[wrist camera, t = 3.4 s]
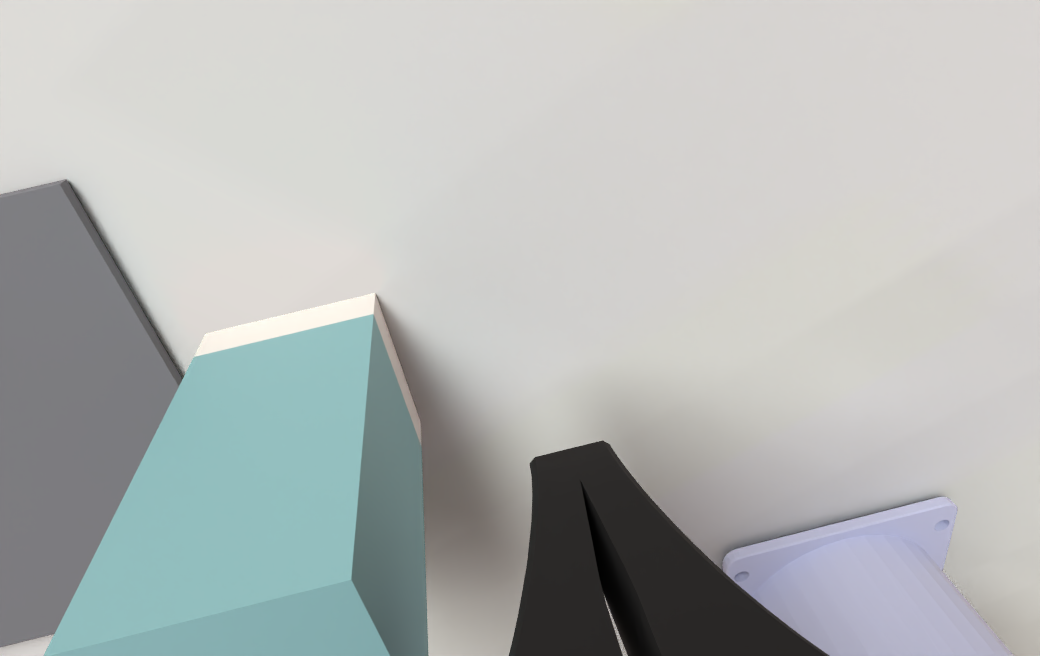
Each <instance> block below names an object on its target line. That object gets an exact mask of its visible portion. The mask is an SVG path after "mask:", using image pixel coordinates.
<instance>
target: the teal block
mask: <svg viewBox="0 0 1040 656" xmlns="http://www.w3.org/2000/svg"><path fill="white" fill-rule="evenodd" d="M44 656H428V631H427V600H426V569H425V538H424V507H423V476H422V445H421V422H420V419H419V416H418V413H417V410H416V407H415V404H414V402H413V399H412V396H411V393H410V390H409V387H408V385H407V382H406V379H405V376H404V373H403V370H402V367H401V365H400V362H399V359H398V356H397V353H396V350H395V348H394V345H393V342H392V339H391V336H390V333H389V330H388V328H387V325H386V322H385V319H384V316H383V313H382V311H381V308H380V305H379V302H378V299H377V296H376V294H375V293H373V294H368V295H364V296H360V297H356V298H352V299H348V300H343V301H339V302H335V303H331V304H327V305H322V306H318V307H314V308H310V309H306V310H301V311H297V312H293V313H289V314H285V315H281V316H276V317H272V318H268V319H264V320H260V321H255V322H251V323H247V324H243V325H239V326H234V327H230V328H226V329H222V330H218V331H214V332H209V333H206V334H205V336H204V338H203V340H202V342H201V344H200V346H199V348H198V350H197V352H196V354H195V356H194V358H193V360H192V362H191V364H190V366H189V368H188V370H187V372H186V374H185V376H184V378H183V380H182V382H181V384H180V386H179V388H178V390H177V392H176V394H175V396H174V398H173V399H172V401H171V403H170V405H169V407H168V409H167V411H166V413H165V415H164V417H163V419H162V421H161V423H160V425H159V427H158V429H157V431H156V433H155V435H154V437H153V439H152V441H151V443H150V445H149V447H148V449H147V451H146V453H145V455H144V457H143V459H142V461H141V463H140V465H139V467H138V469H137V471H136V473H135V475H134V477H133V479H132V481H131V483H130V485H129V487H128V489H127V491H126V493H125V495H124V497H123V499H122V501H121V503H120V505H119V507H118V509H117V511H116V513H115V515H114V517H113V519H112V521H111V523H110V525H109V527H108V529H107V531H106V533H105V535H104V537H103V539H102V541H101V543H100V545H99V547H98V549H97V551H96V553H95V555H94V557H93V559H92V561H91V563H90V565H89V567H88V569H87V571H86V573H85V575H84V577H83V579H82V581H81V583H80V585H79V587H78V589H77V591H76V593H75V594H74V596H73V598H72V600H71V602H70V604H69V606H68V608H67V610H66V612H65V614H64V616H63V618H62V620H61V622H60V624H59V626H58V628H57V630H56V632H55V634H54V636H53V638H52V640H51V642H50V644H49V646H48V648H47V650H46V652H45V654H44Z"/></svg>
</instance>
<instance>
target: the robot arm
mask: <svg viewBox="0 0 1040 656" xmlns="http://www.w3.org/2000/svg"><path fill="white" fill-rule="evenodd" d="M530 468H531V475H532V494H533V496H532V522H531V533H530V542H529V552H528V561H527V568H526V574H525V580H524V585H523V591H522V597H521V603H520V608H519V614H518V618H517V623H516V628H515V632H514V637H513V641H512V645H511V649H510V653H509V656H623V655H622V652H621V649H620V646H619V643H618V640H617V637H616V634H615V630H614V627H613V624H612V621H611V618H610V615H609V612H608V609H607V606H606V602H605V598H606V601H607V603H608V606H609V609H610V611H611V614H612V616H613V619H614V621H615V624H616V626H617V629H618V632H619V634H620V637H621V639H622V642H623V644H624V647H625V649H626V652H627V654H628V656H1014V655H1013V654H1012V653H1011V652H1010V650H1009V649H1008V648H1007V647H1006V646H1005V645H1004V643H1003V642H1002V641H1001V640H1000V639H999V638H998V636H997V635H996V634H995V633H994V632H993V630H992V629H991V628H990V627H989V626H988V625H987V623H986V622H985V621H984V620H983V619H982V617H981V616H980V615H979V614H978V613H977V612H976V610H975V609H974V608H973V607H972V606H971V604H970V603H969V602H968V601H967V600H966V599H965V597H964V596H963V595H962V594H961V593H960V591H959V590H958V589H957V588H956V587H955V586H954V584H953V583H952V582H951V581H950V580H949V578H948V577H947V576H946V575H945V574H944V573H943V567H944V563H945V559H946V555H947V551H948V547H949V543H950V539H951V535H952V531H953V526H954V522H955V518H956V514H957V506H956V505H955V504H954V503H953V502H952V501H951V500H950V499H949V498H948V497H937V498H933V499H929V500H925V501H921V502H917V503H913V504H909V505H906V506H902V507H898V508H894V509H890V510H886V511H882V512H878V513H874V514H870V515H866V516H862V517H858V518H855V519H851V520H847V521H843V522H839V523H835V524H831V525H827V526H823V527H819V528H815V529H811V530H808V531H804V532H800V533H796V534H792V535H788V536H784V537H780V538H776V539H772V540H768V541H764V542H761V543H757V544H753V545H749V546H745V547H741V548H737V549H734V550H732V551H730V552H729V553H727V554H726V556H725V557H724V559H723V571H722V570H721V569H720V568H719V567H718V566H717V565H715V564H714V563H713V562H712V561H711V560H710V559H709V558H708V557H707V556H706V555H705V554H704V553H703V552H702V551H701V550H700V549H699V548H698V547H696V546H695V545H694V544H693V543H692V542H691V541H690V540H689V539H688V538H687V537H686V536H685V535H684V534H683V533H682V532H681V530H680V529H679V528H678V527H677V526H676V525H675V524H674V523H673V522H672V521H671V520H670V519H669V518H668V517H667V516H666V514H665V513H664V512H663V511H662V510H661V509H660V508H659V507H658V506H657V505H656V504H655V503H654V501H653V500H652V499H651V498H650V497H649V496H648V495H647V493H646V492H645V491H644V490H643V489H642V487H641V486H640V485H639V484H638V483H637V481H636V480H635V479H634V478H633V477H632V475H631V474H630V473H629V471H628V470H627V469H626V468H625V466H624V465H623V464H622V462H621V461H620V459H619V458H618V457H617V455H616V454H615V452H614V451H613V449H612V448H611V446H610V444H608V443H606V442H604V441H599V442H595V443H591V444H587V445H583V446H579V447H575V448H571V449H567V450H562V451H558V452H554V453H550V454H546V455H542V456H538V457H535V458H534V459H533V460H532V461H531V463H530ZM603 593H604V594H603ZM604 596H605V598H604Z"/></svg>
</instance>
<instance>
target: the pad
mask: <svg viewBox="0 0 1040 656" xmlns="http://www.w3.org/2000/svg"><path fill="white" fill-rule="evenodd" d="M182 380H183V379H182V378H181V376H180V374H179V373H178V371H177V369H176V367H175V366H174V364H173V362H172V360H171V359H170V357H169V355H168V354H167V352H166V350H165V348H164V347H163V345H162V343H161V342H160V340H159V338H158V336H157V335H156V333H155V331H154V329H153V328H152V326H151V324H150V323H149V321H148V319H147V317H146V316H145V314H144V312H143V310H142V309H141V307H140V305H139V304H138V302H137V300H136V298H135V297H134V295H133V293H132V292H131V290H130V288H129V286H128V285H127V283H126V281H125V279H124V278H123V276H122V274H121V273H120V271H119V269H118V267H117V266H116V264H115V262H114V260H113V259H112V257H111V255H110V254H109V252H108V250H107V248H106V247H105V245H104V243H103V242H102V240H101V238H100V236H99V235H98V233H97V231H96V229H95V228H94V226H93V224H92V223H91V221H90V219H89V217H88V216H87V214H86V212H85V210H84V209H83V207H82V205H81V204H80V202H79V200H78V198H77V197H76V195H75V193H74V192H73V190H72V188H71V186H70V185H69V183H68V181H67V179H66V180H62V181H57V182H53V183H49V184H44V185H40V186H36V187H31V188H27V189H23V190H18V191H14V192H10V193H5V194H1V195H0V647H3V646H7V645H11V644H15V643H19V642H23V641H27V640H31V639H35V638H39V637H43V636H47V635H51V634H55V632H56V630H57V628H58V626H59V624H60V622H61V620H62V618H63V616H64V614H65V612H66V610H67V608H68V606H69V604H70V602H71V600H72V598H73V596H74V594H75V593H76V591H77V589H78V587H79V585H80V583H81V581H82V579H83V577H84V575H85V573H86V571H87V569H88V567H89V565H90V563H91V561H92V559H93V557H94V555H95V553H96V551H97V549H98V547H99V545H100V543H101V541H102V539H103V537H104V535H105V533H106V531H107V529H108V527H109V525H110V523H111V521H112V519H113V517H114V515H115V513H116V511H117V509H118V507H119V505H120V503H121V501H122V499H123V497H124V495H125V493H126V491H127V489H128V487H129V485H130V483H131V481H132V479H133V477H134V475H135V473H136V471H137V469H138V467H139V465H140V463H141V461H142V459H143V457H144V455H145V453H146V451H147V449H148V447H149V445H150V443H151V441H152V439H153V437H154V435H155V433H156V431H157V429H158V427H159V425H160V423H161V421H162V419H163V417H164V415H165V413H166V411H167V409H168V407H169V405H170V403H171V401H172V399H173V398H174V396H175V394H176V392H177V390H178V388H179V386H180V384H181V382H182Z"/></svg>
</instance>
